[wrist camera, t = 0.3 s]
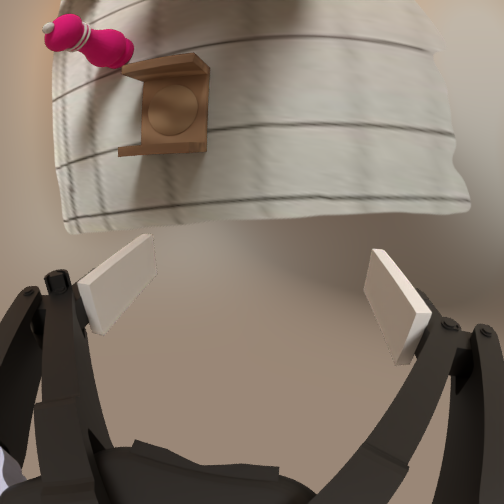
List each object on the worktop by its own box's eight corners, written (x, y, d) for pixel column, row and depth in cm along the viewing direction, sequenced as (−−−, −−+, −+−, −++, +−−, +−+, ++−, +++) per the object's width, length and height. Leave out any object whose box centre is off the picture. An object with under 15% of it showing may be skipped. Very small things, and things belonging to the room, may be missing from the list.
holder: (147, 75, 36) (122, 65, 28) (210, 68, 35) (193, 52, 27) (144, 153, 41) (118, 156, 34) (206, 151, 40) (189, 152, 33)
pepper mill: (110, 78, 36) (30, 61, 18) (100, 53, 34) (25, 31, 16) (141, 55, 35) (67, 21, 16) (129, 30, 32) (60, -6, 14)
